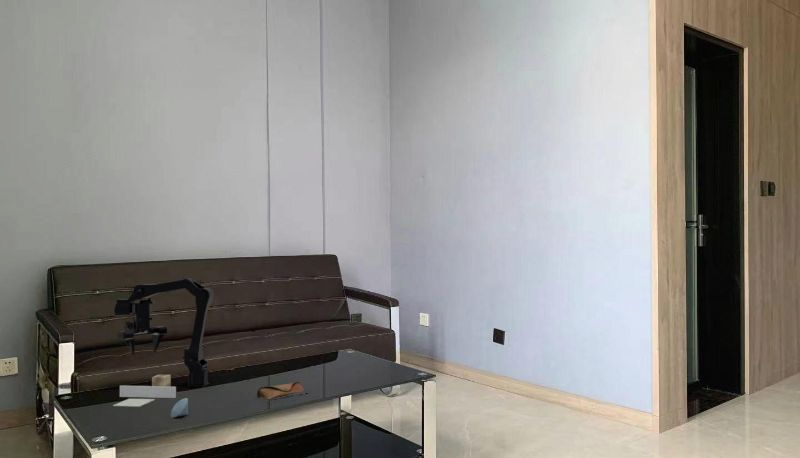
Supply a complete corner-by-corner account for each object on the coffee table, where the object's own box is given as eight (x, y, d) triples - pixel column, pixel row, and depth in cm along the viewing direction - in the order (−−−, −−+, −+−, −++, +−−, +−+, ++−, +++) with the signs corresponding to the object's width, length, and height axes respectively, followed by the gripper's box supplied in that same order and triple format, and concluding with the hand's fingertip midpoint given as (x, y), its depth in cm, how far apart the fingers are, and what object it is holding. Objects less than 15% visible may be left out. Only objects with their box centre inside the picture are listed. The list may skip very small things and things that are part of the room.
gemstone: (194, 401, 210) (183, 392, 208) (198, 409, 204) (187, 400, 202) (177, 419, 208) (166, 410, 206) (181, 428, 202) (169, 419, 200)
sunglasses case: (267, 400, 223) (263, 383, 226) (259, 407, 228) (255, 390, 231) (310, 393, 235) (305, 376, 238) (302, 400, 240) (297, 383, 242)
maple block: (170, 390, 244) (170, 374, 244) (164, 393, 239) (164, 377, 239) (158, 389, 244) (158, 374, 244) (151, 392, 239) (152, 377, 239)
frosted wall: (175, 397, 230) (175, 386, 231) (174, 398, 230) (174, 387, 230) (120, 396, 233) (120, 385, 234) (119, 396, 233) (119, 386, 233)
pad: (154, 400, 227) (154, 399, 227) (139, 406, 217) (139, 405, 217) (129, 399, 228) (129, 398, 228) (113, 406, 218) (113, 405, 218)
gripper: (154, 312, 264) (155, 349, 263) (110, 316, 249) (111, 355, 249) (168, 313, 257) (169, 351, 256) (124, 317, 242) (124, 358, 242)
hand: (143, 353), depth 251 cm, fingers open, 9 cm apart
